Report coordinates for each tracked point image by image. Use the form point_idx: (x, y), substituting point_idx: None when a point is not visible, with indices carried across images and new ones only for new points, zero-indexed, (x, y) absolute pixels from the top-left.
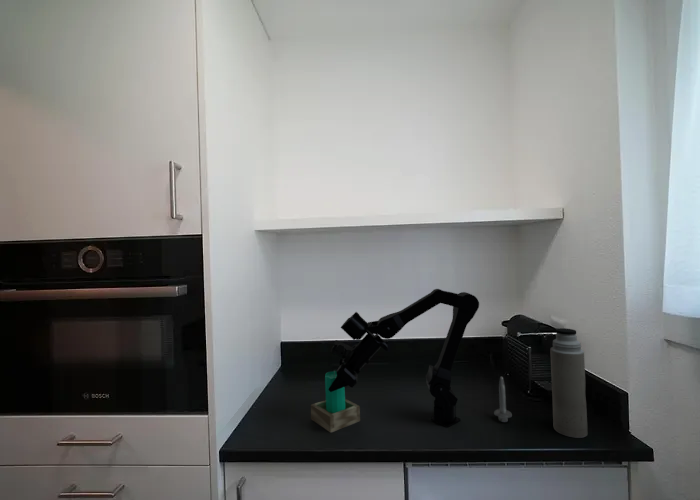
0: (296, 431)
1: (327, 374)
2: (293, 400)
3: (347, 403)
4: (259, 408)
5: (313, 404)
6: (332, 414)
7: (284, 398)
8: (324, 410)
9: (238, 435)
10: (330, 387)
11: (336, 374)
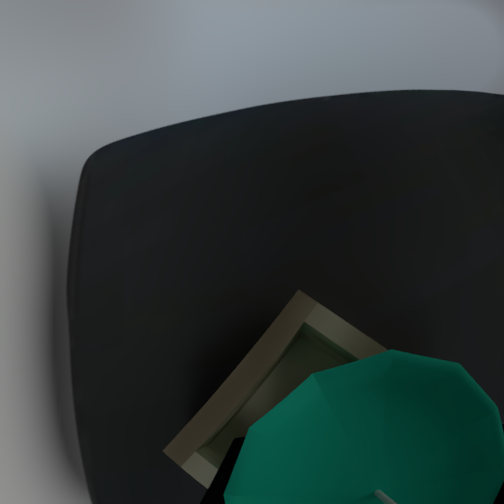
0: (179, 292)
1: (398, 378)
2: (425, 176)
3: None
4: (323, 109)
5: (305, 303)
6: (193, 458)
7: (422, 145)
8: (236, 399)
9: (148, 141)
10: (222, 465)
11: (433, 488)
